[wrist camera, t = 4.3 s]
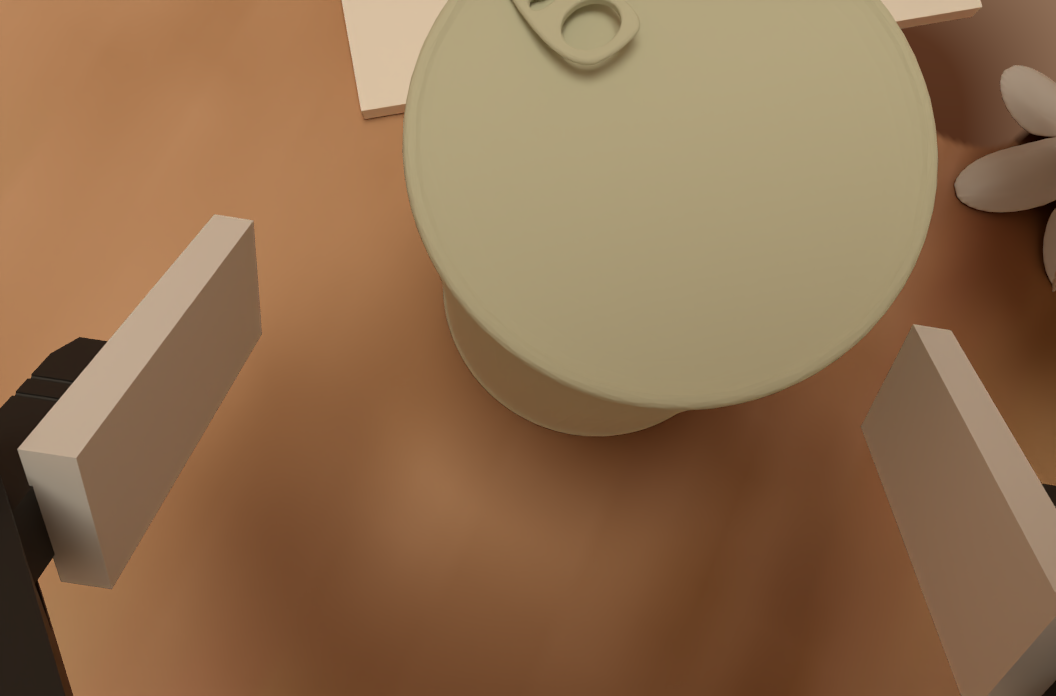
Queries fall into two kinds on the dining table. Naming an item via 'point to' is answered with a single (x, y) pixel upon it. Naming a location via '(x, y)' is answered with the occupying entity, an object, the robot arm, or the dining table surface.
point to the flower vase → (1020, 158)
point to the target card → (414, 4)
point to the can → (664, 195)
